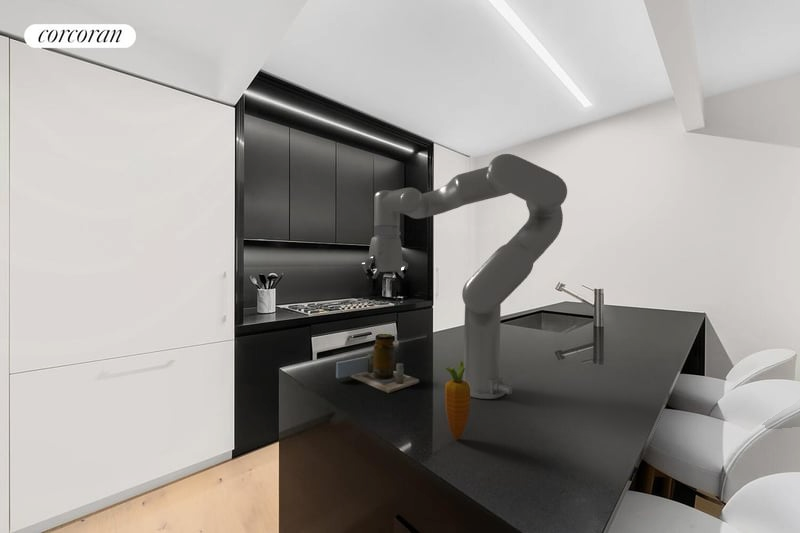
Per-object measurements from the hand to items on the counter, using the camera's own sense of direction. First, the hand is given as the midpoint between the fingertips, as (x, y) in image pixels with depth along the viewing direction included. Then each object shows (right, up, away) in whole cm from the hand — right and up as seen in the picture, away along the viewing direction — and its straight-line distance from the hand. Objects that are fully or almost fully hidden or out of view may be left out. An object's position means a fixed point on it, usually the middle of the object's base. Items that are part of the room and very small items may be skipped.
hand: (386, 291), depth 99 cm
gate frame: (-1, -26, 0) cm, 26 cm away
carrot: (+15, -27, -33) cm, 45 cm away
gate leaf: (-10, -25, +1) cm, 27 cm away
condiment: (0, -25, 0) cm, 25 cm away
